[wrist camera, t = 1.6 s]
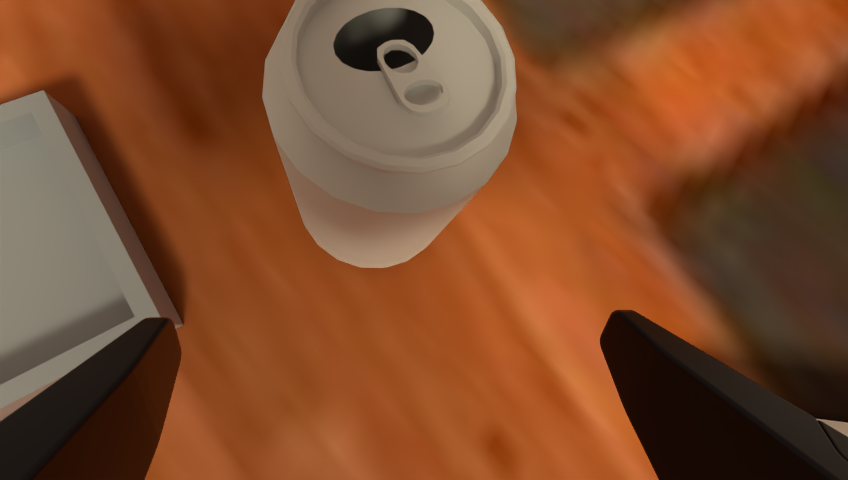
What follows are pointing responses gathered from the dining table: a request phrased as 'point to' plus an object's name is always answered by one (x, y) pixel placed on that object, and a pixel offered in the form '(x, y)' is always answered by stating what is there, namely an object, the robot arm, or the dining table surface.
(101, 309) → the tray
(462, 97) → the can
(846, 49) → the dining table surface
